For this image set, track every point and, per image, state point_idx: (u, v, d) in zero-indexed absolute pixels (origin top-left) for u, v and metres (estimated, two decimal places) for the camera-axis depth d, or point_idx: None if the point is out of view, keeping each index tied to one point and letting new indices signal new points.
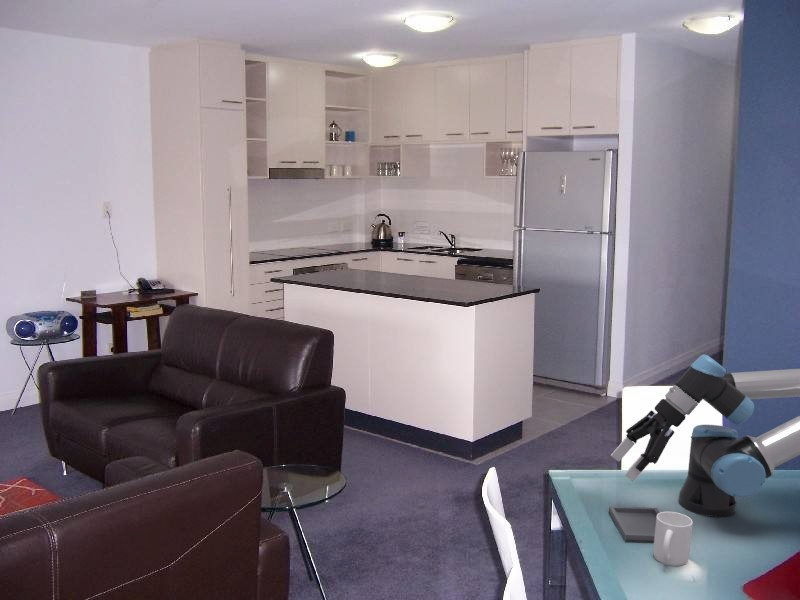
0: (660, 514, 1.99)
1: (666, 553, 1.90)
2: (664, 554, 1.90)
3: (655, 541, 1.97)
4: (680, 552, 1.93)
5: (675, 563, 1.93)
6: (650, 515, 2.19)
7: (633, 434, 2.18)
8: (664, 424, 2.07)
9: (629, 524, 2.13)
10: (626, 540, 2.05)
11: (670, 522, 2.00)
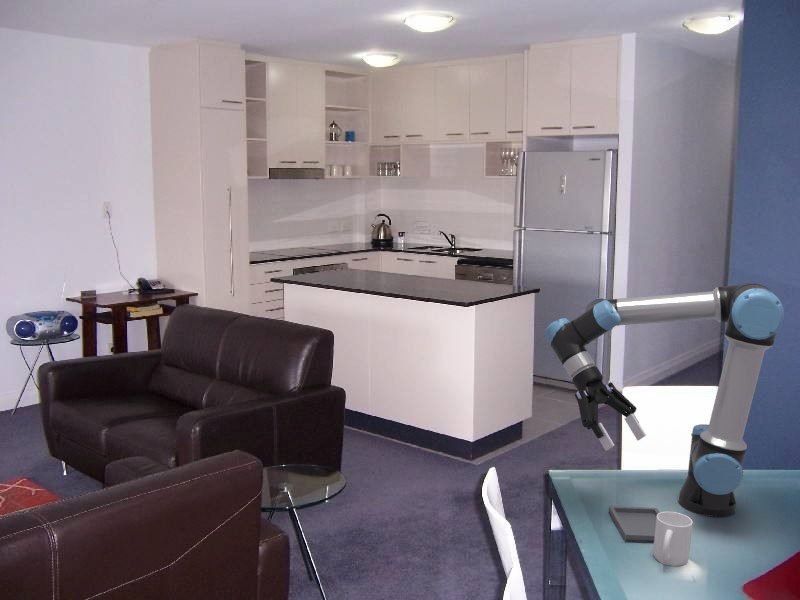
0: (660, 514, 1.99)
1: (666, 553, 1.90)
2: (664, 554, 1.90)
3: (655, 541, 1.97)
4: (680, 552, 1.93)
5: (675, 563, 1.93)
6: (650, 515, 2.19)
7: (620, 412, 2.15)
8: None
9: (629, 524, 2.13)
10: (626, 540, 2.05)
11: (670, 522, 2.00)
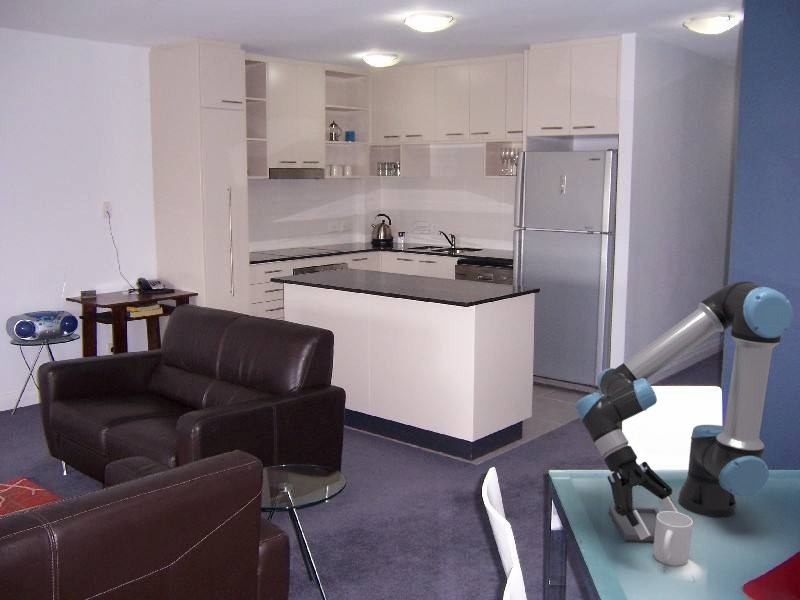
0: (660, 514, 1.98)
1: (666, 554, 1.90)
2: (664, 555, 1.90)
3: (655, 541, 1.96)
4: (680, 552, 1.93)
5: (675, 563, 1.93)
6: (650, 515, 2.19)
7: (655, 494, 2.03)
8: None
9: (629, 524, 2.13)
10: (626, 540, 2.05)
11: (671, 522, 2.00)
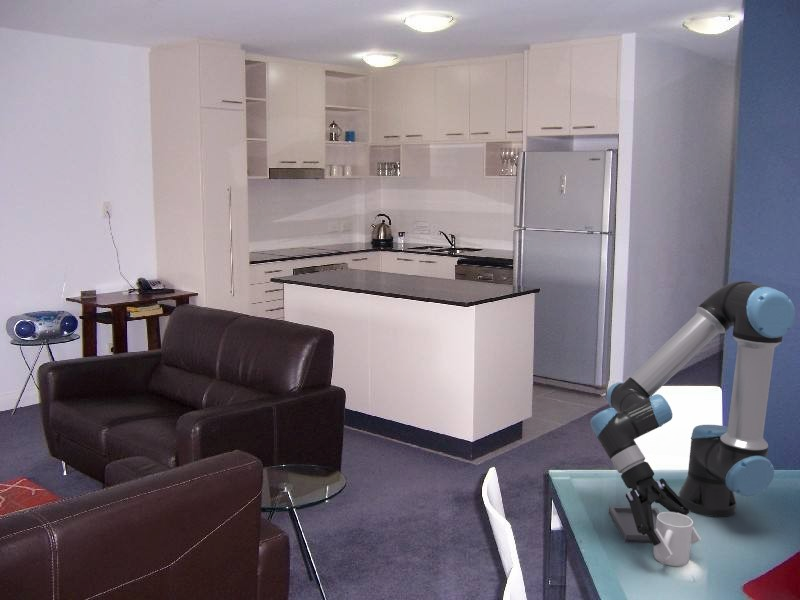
0: (661, 514, 1.99)
1: None
2: None
3: None
4: (679, 552, 1.93)
5: (675, 563, 1.93)
6: None
7: None
8: None
9: (629, 524, 2.13)
10: (626, 540, 2.05)
11: (671, 523, 2.00)
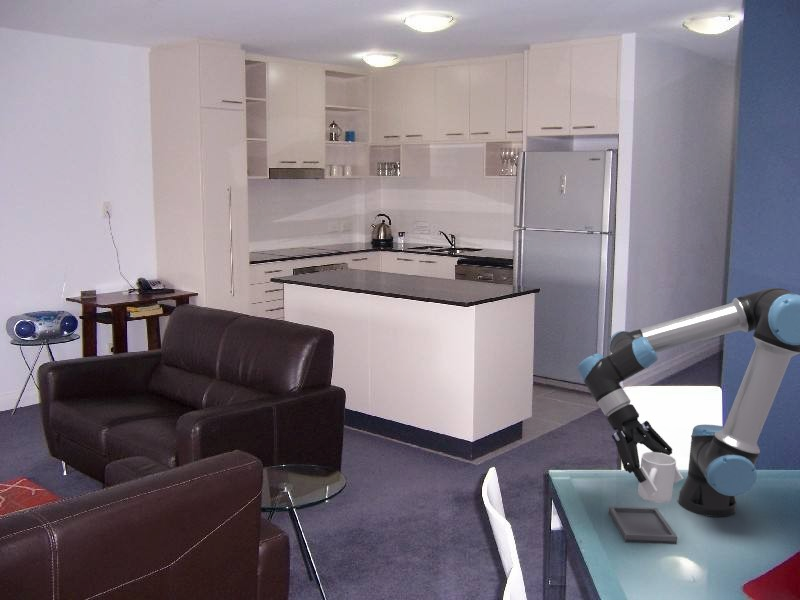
0: (645, 454, 2.07)
1: None
2: None
3: None
4: (663, 489, 2.01)
5: (659, 500, 2.02)
6: (650, 515, 2.19)
7: None
8: None
9: (629, 524, 2.13)
10: (626, 540, 2.05)
11: (655, 462, 2.08)
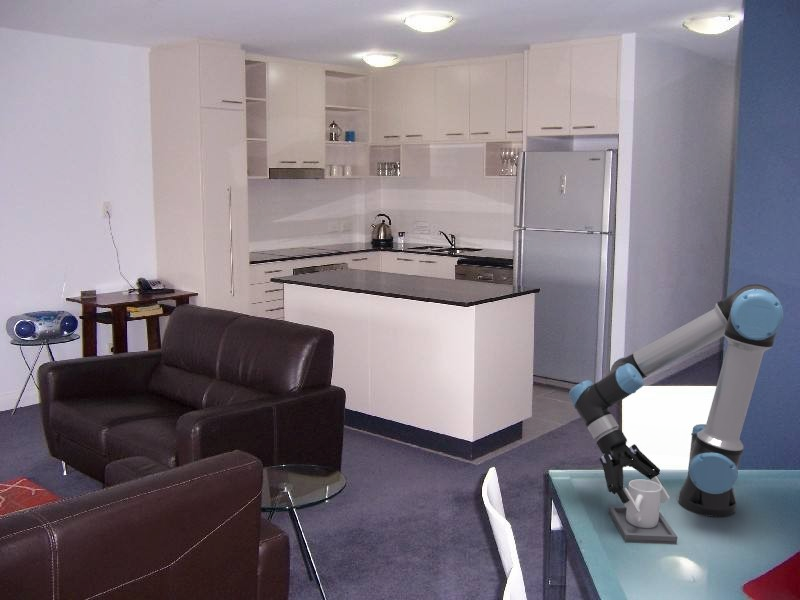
0: (632, 481, 2.16)
1: (636, 516, 2.08)
2: (634, 517, 2.08)
3: None
4: (649, 515, 2.10)
5: (645, 525, 2.11)
6: None
7: (644, 474, 2.18)
8: None
9: (629, 524, 2.13)
10: (626, 540, 2.05)
11: (642, 489, 2.17)
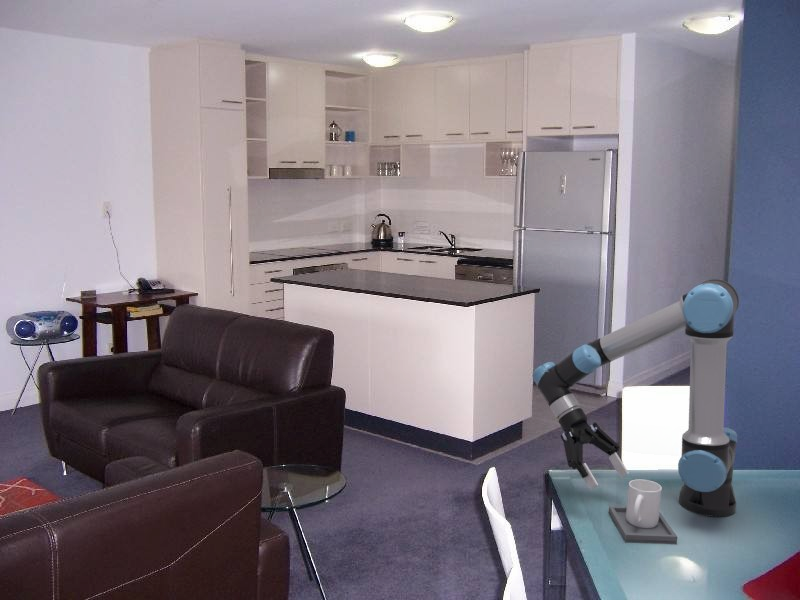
0: (632, 481, 2.16)
1: (636, 516, 2.08)
2: (634, 517, 2.08)
3: (627, 506, 2.14)
4: (649, 515, 2.10)
5: (645, 525, 2.11)
6: None
7: (604, 451, 2.28)
8: None
9: (629, 524, 2.13)
10: (626, 540, 2.05)
11: (642, 489, 2.17)
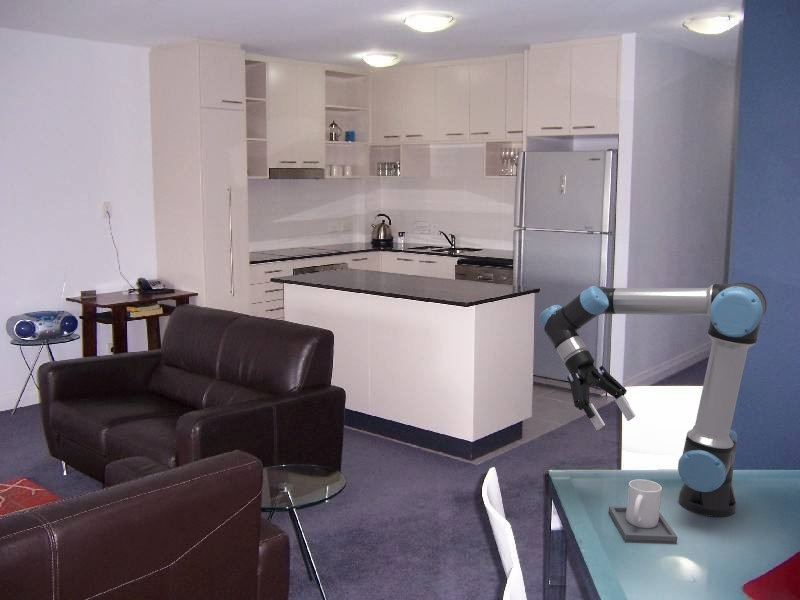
0: (632, 481, 2.16)
1: (636, 516, 2.08)
2: (634, 517, 2.08)
3: (627, 506, 2.14)
4: (649, 515, 2.10)
5: (645, 525, 2.11)
6: None
7: (611, 394, 2.25)
8: None
9: (629, 524, 2.13)
10: (626, 540, 2.05)
11: (642, 489, 2.17)
